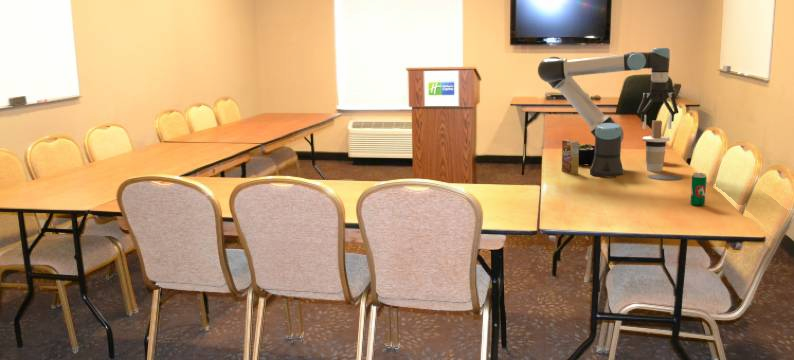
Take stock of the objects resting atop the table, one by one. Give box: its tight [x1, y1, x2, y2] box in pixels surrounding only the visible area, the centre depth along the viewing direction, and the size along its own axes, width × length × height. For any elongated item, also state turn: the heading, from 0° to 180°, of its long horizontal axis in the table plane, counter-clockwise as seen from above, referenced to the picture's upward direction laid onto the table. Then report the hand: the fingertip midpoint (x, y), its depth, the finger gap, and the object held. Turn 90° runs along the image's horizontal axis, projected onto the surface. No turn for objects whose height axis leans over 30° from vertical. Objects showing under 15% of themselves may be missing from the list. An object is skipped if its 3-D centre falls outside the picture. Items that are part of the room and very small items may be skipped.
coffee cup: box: [645, 142, 667, 173], centre depth 321 cm, size 9×9×15 cm
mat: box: [646, 173, 684, 182], centre depth 305 cm, size 15×15×1 cm
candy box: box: [561, 139, 580, 175], centre depth 323 cm, size 9×4×15 cm, turn 17°
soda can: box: [689, 172, 708, 207], centre depth 255 cm, size 5×5×12 cm
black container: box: [578, 143, 595, 166], centre depth 346 cm, size 17×17×10 cm
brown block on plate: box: [642, 119, 671, 143], centre depth 318 cm, size 12×12×9 cm
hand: (656, 128), depth 318 cm, fingers open, 11 cm apart
